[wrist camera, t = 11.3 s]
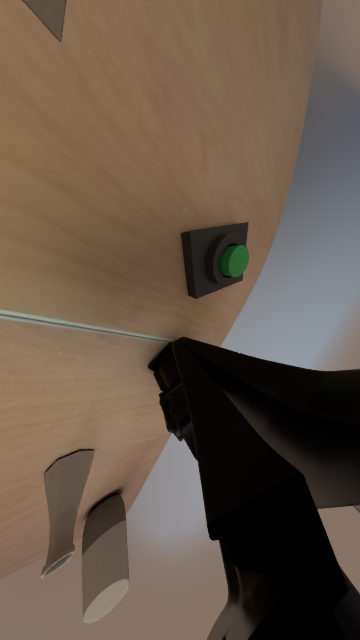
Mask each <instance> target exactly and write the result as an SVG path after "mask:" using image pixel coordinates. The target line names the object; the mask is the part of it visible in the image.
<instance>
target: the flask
mask: <svg viewBox="0 0 360 640" xmlns="http://www.w3.org/2000/svg"><path fill="white" fill-rule="evenodd" d="M93 456H94V451H79V452H76V453H74V454H72V455H69V456H67V457H64V458H62V459H59V460H58V461H57V462H56V463H55V464H54V465H53V466H52V467H51V468H50V469H49V470H48V471H47V472H46V473H45V474H44V481H45V490H46V497H47V503H48V512H49V521H50V536H49V549H48V555H47V561H46V565H45V566H44V567H43V570H42V574H41V579H44V578H46V577H47V576H49V575H51V574H53V573H54V572H55V571H57V570H58V569H59V568H61V567H62V566H63V565H65V564H66V563H67V562H68V561H69V560H70V558H71V557H72V556H73V555H74V550H75V546H74V544H73V534H74V527H75V522H76V517H77V512H78V508H79V504H80V501H81V497H82V494H83V491H84V487H85V484H86V481H87V477H88V474H89V471H90V468H91V465H92V461H93Z"/></svg>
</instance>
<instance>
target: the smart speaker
mask: <svg viewBox="0 0 360 640" xmlns="http://www.w3.org/2000/svg"><path fill="white" fill-rule="evenodd" d="M128 587H129V568H128V549H127V530H126V514H125V506H124V501H123V499H122V497H121V495H119V494H113V495H111V496H109V497H107V498H105V499H104V500H102V501H101V502H100V503H99V504H98V505H96V506H95V507H94V509H93V510H92V511H91V512H90V514H89V516H88V518H87V520H86V523H85V527H84V532H83V540H82V590H83V591H82V592H83V593H82V594H83V621H84V623H87V624H88V623H92V622H95V621H97V620H98V619H100V618H102V617H103V616H105V615H106V614H107V613H109V612H110V611H111V610H112V609H113V608H114V607H115V606H116V605H117V604H118V603H119V602H120V600H121V599H122V598H123V596H124V595H125V594H126V592H127V590H128Z"/></svg>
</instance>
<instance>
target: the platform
mask: <svg viewBox="0 0 360 640" xmlns="http://www.w3.org/2000/svg"><path fill="white" fill-rule="evenodd" d="M24 2H25V3H26V4H27V5H28V6H29V7H30V8H31V9H32V10H33V12H34V13H35V14H36V15H37V16H38V17H39V18H40V19H41V20H42V22H43V23H44V24H45V25H46V26H47V27H48V28H49V29H50V31H51V32H52V33H53V34H54V35H55V36H56V37H57V38H58V39H59V41H60V42H61V34H62V26H63V18H64V11H65V3H66V0H24Z"/></svg>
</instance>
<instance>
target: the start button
mask: <svg viewBox="0 0 360 640" xmlns="http://www.w3.org/2000/svg"><path fill="white" fill-rule="evenodd" d="M248 259H249V253H248V250H247V248H246V247H245V246H243V245H237V246H229V247H227V248H226V249H225V250H224V251H223V253H222V255H221V258H220V271H221V273H222V274H223V275H225V276H231V277H238V276H240V275H241V274H242V273H243V272H244V271H245V269H246V267H247V264H248Z"/></svg>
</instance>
